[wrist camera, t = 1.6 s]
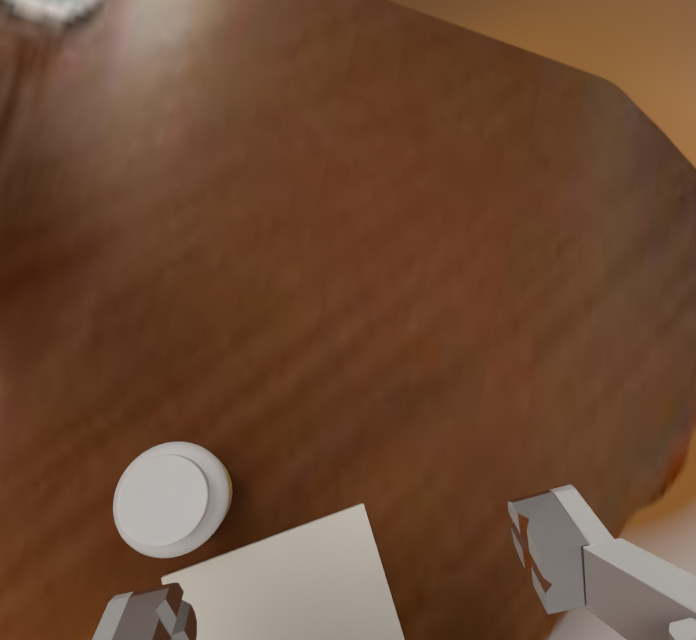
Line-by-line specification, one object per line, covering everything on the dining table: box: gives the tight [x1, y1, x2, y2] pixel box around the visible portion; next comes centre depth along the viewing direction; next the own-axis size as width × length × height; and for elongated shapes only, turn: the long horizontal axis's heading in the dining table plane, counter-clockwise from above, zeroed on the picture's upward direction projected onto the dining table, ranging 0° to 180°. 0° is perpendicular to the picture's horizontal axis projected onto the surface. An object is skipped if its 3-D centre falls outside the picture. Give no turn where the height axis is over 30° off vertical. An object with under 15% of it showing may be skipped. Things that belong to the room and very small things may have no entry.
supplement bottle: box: [113, 442, 232, 558], centre depth 30 cm, size 7×7×13 cm
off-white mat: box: [161, 503, 405, 640], centre depth 34 cm, size 16×12×1 cm
